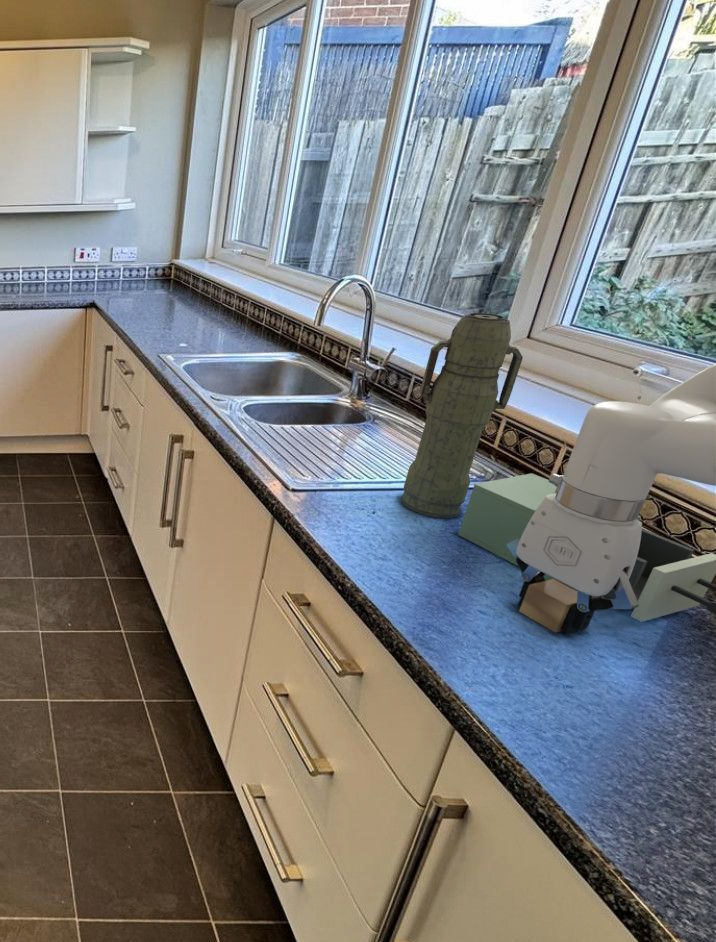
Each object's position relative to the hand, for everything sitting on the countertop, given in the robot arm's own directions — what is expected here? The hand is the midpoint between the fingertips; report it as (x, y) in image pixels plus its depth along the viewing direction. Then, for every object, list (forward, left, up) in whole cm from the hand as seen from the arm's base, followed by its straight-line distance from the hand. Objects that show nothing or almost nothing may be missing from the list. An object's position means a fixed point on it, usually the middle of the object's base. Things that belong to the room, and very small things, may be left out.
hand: (549, 616), depth 84 cm
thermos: (+28, -13, -1) cm, 31 cm away
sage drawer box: (+12, -15, 0) cm, 19 cm away
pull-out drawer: (0, -15, +1) cm, 15 cm away
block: (0, 0, 0) cm, 0 cm away
